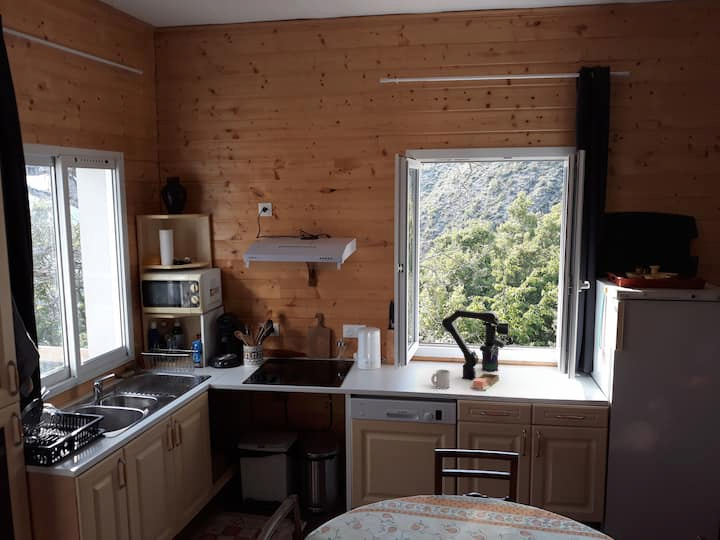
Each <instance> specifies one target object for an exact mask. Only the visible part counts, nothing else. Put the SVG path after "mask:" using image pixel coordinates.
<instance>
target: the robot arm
mask: <svg viewBox="0 0 720 540" xmlns="http://www.w3.org/2000/svg"><path fill="white" fill-rule="evenodd" d="M458 318H465V319H467V318H468V319H475V320H480V321H483V323H482V325H481V326H484V327H485V335H484V338H485V340H484V341H485V342H484V343H483V344H482V345H481V346H480V347H479V351H480V352H482V351H485V353H486V355H487V357H488V359H489V360H491V359H492V355H493V352H494V350H495V349H497V347H495V346H494V345H496V346H498V348H500V349H503V348H505V345H506V344H507V341H506V338H505V337H502V338H498V335H503V336H504V335H507V336H508V335H509V334H510V323H509V322H501V321H500V319H499V318H498V317H497V313H496V312H495V311H493V310H486V311H475V310H464V309H460V308H459V309H456V310H455V312H454V313H452V314H451V315H450V316H445V318H443V320H442V321H441V326H442V327H443V328H444V329H445V330H446V331H447V332H448V333H449V334H450V335H451V336H452V338H453V340H454V341H455V342H456V345H457V346H458V347H459V349H460V350H461V353H462V355H463V358H464V361H465V362H464V363H463V365H462V377H461V379H462V380H467V379H469V381H473V380H474V379H476V378H477V377H476V376H477V375H476V374H477V372H476V365H477V364H478V362H479V355H478V354H477V353H476V351H475V350H473V351H472V350H471V349H470V348H469V346H468V345H467V343H466V341H465V340H464V338H463V336H462V335H461V333H460V332H459V330H458V329H457V324H456V322H455V321H456V320H457V319H458ZM497 334H498V335H497ZM484 344H486V345H484Z"/></svg>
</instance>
